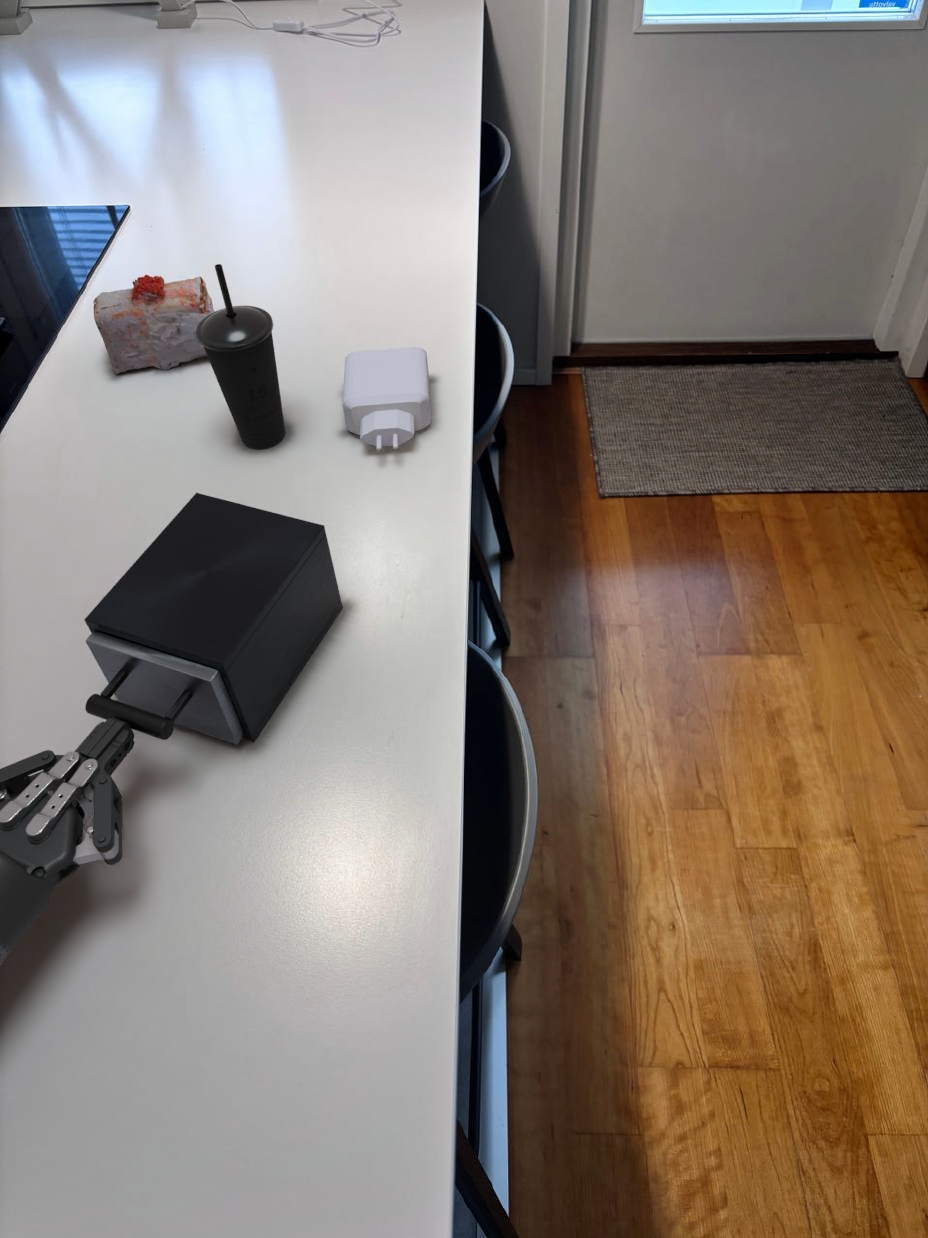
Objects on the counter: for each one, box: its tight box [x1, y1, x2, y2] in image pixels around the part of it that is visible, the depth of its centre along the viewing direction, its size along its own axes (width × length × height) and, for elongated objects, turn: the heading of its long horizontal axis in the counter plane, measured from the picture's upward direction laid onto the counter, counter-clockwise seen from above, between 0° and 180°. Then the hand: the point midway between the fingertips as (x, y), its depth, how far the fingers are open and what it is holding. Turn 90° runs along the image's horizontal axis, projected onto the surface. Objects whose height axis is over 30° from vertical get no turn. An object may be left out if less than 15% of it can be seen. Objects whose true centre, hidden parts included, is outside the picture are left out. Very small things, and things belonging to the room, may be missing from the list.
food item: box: [92, 274, 216, 375], centre depth 113 cm, size 14×8×10 cm, turn 104°
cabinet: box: [84, 492, 344, 743], centre depth 80 cm, size 16×13×10 cm
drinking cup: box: [196, 263, 286, 450], centre depth 97 cm, size 8×8×20 cm
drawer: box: [85, 630, 244, 745], centre depth 78 cm, size 19×12×8 cm, turn 157°
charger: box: [342, 346, 432, 452], centre depth 103 cm, size 5×9×15 cm
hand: (123, 726), depth 71 cm, fingers closed
